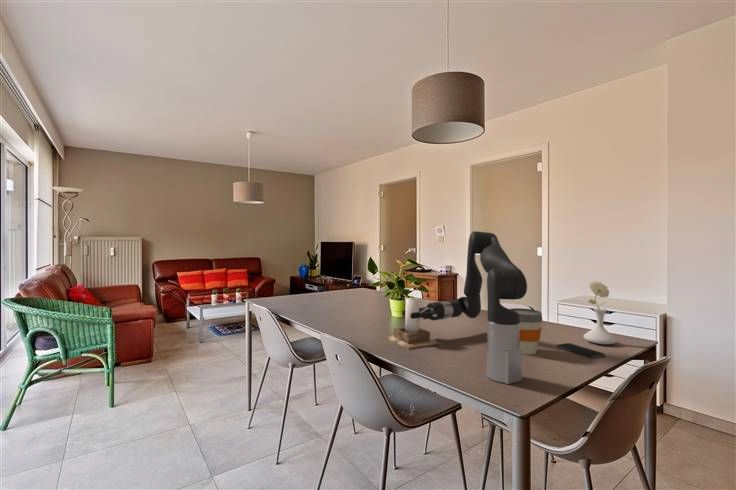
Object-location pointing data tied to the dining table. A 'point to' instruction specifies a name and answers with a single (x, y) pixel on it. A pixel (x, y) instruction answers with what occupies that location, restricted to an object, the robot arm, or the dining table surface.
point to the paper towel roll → (410, 323)
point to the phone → (580, 350)
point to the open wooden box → (412, 338)
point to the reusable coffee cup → (529, 330)
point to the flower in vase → (599, 317)
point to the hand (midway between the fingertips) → (407, 314)
